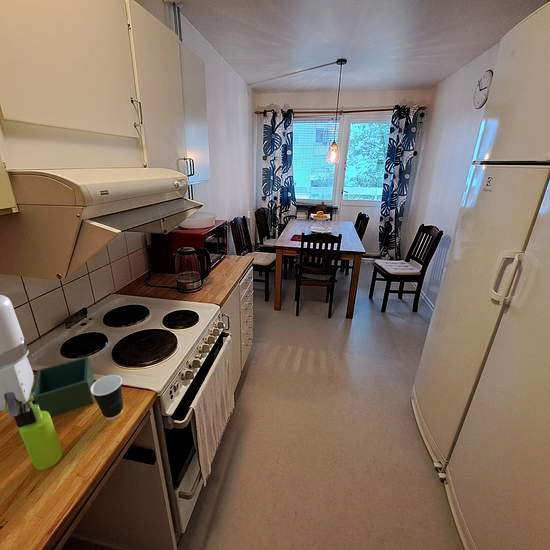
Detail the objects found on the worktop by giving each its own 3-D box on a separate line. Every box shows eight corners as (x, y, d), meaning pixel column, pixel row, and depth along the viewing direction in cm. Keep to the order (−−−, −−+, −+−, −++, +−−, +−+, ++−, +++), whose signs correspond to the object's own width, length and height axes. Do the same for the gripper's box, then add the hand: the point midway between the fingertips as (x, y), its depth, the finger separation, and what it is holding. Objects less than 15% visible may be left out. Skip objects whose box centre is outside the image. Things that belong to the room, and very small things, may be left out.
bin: (38, 421, 82) (29, 398, 79) (45, 390, 93) (37, 369, 90) (93, 403, 89) (87, 381, 85) (93, 376, 99) (88, 356, 96)
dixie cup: (105, 403, 89) (98, 375, 85) (132, 401, 89) (126, 373, 85) (93, 425, 81) (84, 395, 77) (122, 423, 82) (115, 394, 78)
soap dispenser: (26, 461, 71) (-1, 401, 64) (59, 443, 76) (38, 385, 68) (31, 478, 68) (3, 416, 60) (65, 458, 72) (44, 398, 65)
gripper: (-9, 337, 64) (16, 399, 71) (-36, 384, 51) (-2, 454, 58) (33, 329, 68) (53, 388, 75) (18, 370, 55) (44, 438, 62)
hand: (29, 417), depth 66 cm, fingers closed on soap dispenser, 3 cm apart
